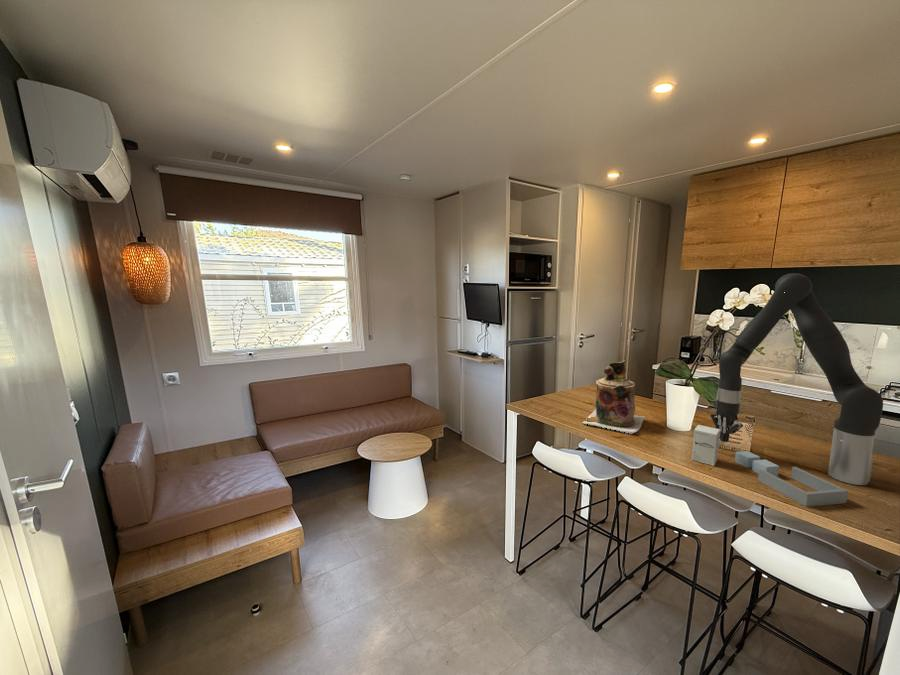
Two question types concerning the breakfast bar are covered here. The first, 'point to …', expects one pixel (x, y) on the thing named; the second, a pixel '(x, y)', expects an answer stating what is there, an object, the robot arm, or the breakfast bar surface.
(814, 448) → the breakfast bar surface
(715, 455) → the supplement box
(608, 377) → the cookie jar
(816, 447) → the breakfast bar surface
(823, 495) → the tray
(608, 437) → the breakfast bar surface
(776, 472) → the tile
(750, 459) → the tile
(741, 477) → the breakfast bar surface
